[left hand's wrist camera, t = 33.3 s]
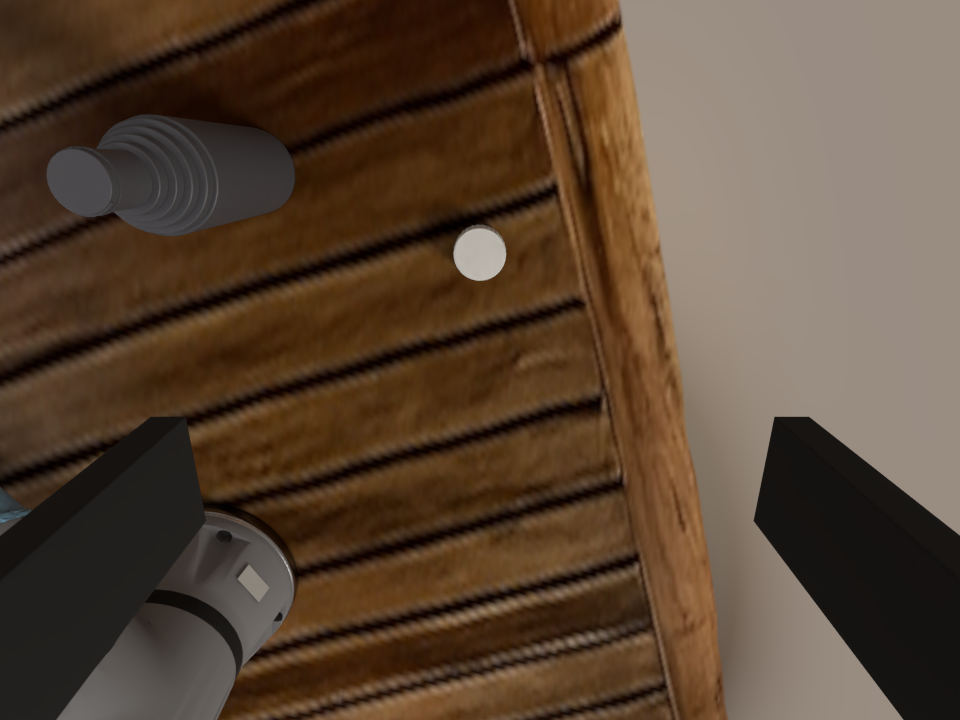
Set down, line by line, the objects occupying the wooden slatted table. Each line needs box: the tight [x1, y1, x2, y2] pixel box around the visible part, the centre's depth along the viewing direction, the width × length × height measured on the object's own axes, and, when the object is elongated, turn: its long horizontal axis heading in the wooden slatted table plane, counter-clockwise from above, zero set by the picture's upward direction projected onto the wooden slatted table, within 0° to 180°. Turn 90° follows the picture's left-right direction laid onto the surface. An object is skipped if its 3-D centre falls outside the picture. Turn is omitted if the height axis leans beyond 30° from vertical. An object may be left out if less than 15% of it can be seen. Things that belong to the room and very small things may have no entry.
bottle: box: [47, 114, 295, 236], centre depth 31 cm, size 6×6×19 cm
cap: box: [453, 224, 506, 281], centre depth 41 cm, size 4×4×2 cm
